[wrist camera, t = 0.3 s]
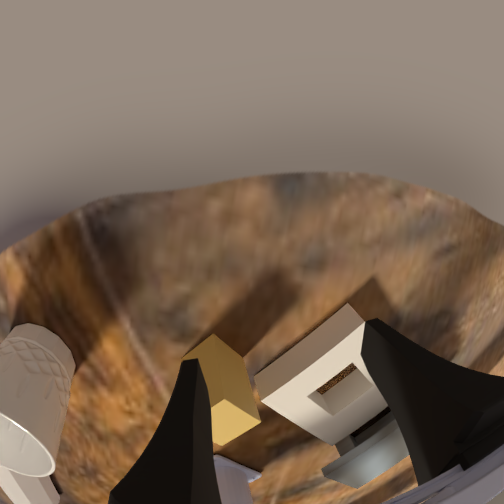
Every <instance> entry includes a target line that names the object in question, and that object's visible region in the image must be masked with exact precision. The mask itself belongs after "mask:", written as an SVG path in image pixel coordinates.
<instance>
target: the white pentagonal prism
mask: <svg viewBox="0 0 504 504" xmlns="http://www.w3.org/2000/svg"><path fill="white" fill-rule="evenodd" d="M0 486H1V488H2V489H3V490H4V492H5V493H6V494H7V496H8V497H9V498H10V499H11V501H12V502H13V503H14V504H59V501H60V496H59V494H58V492H57V491H56V489H55V487H54V485H53V483H52V481H51V479H50V477H49V476H45V477H32V476H27V475H23V474H20V473H17V472H14V471H12V470H9V469H7V468H5V467H3V466H1V465H0Z"/></svg>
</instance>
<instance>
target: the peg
mask: <svg viewBox="0 0 504 504" xmlns="http://www.w3.org/2000/svg"><path fill="white" fill-rule="evenodd" d="M195 358H198V360H199V363H200V366H201V370H202V373H203V376H204V379H205V382H206V385H207V388H208V393H209V399H210V406H211V417H212V439H213V442H215V443H217V444H219V445H221V446H222V445H224V444H226V443H228V442H229V441H231V440H233V439H234V438H236V437H238V436H239V435H241V434H243V433H244V432H246V431H248V430H249V429H251V428H253V427H254V426H256V425H257V424H259V423H261V419H260V416H259V413H258V409H257V406H256V402H255V399H254V395H253V392H252V388H251V385H250V381H249V378H248V374H247V371H246V367H245V363H244V360H243V357H241V356H240V355H239V354H238V353H236V352H235V351H234V350H233V349H232V348H230V347H229V346H228V345H227V344H225V343H224V342H223V341H222V340H221V339H219V338H218V337H217V336H216V335H215V334H214V333H213V334H212V335H210V336H209V337H208V338H207V339H205V340H204V341H203V342H202V343H200V344H199V345H198V346H197V347H195V348H194V349H193V350H191V351H190V352H189V353H188V354H186V355H185V356H184V357H182V358H181V362H182V361H183V360H189V359H195Z"/></svg>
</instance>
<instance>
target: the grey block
mask: <svg viewBox="0 0 504 504" xmlns="http://www.w3.org/2000/svg"><path fill="white" fill-rule="evenodd" d="M335 446H336V448H337V450H338V452H339V454H340V456H341V457H340V458H338V459H337V460H335V461H334V462H332V463H330V464H329V465H327V466H325V467H324V468H322V469H321V470H322V472H323V474H324V477H327V478H329V479H332V480H335V481H337V482H340V483H343V484H345V485H348V486H351V487H354V488H357V489H358V488H359V487H361V486H363V485H364V484H366V483H368V482H369V481H371V480H373V479H374V478H376V477H377V476H379V475H380V474H382V473H383V472H385V471H386V470H388V469H389V468H391V467H392V466H394V465H395V464H397V463H398V462H400V461H401V460H402V459H404V458H405V457H407V456H408V455H409V452H408V449H407V446H406V443H405V441H404V438H403V436H402V433H401V431H400V428H399V426H398V424H397V422H396V419H395V417H394V415H393V413H392V411H390V412H389V413H388V414H386V415H385V416H384V417H382V418H381V419H380V420H378V421H377V422H376V423H374V424H373V425H372V426H370V427H369V428H367V429H366V430H365V431H363V432H362V433H360V434H359V435H358V436H356V437H355V438H354V437H353V436H351V435H350V434H349V435H348V436H346V437H345V438H343V439H342V440H340V441H339V442H337V443H336V444H335Z"/></svg>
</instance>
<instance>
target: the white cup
mask: <svg viewBox="0 0 504 504" xmlns="http://www.w3.org/2000/svg"><path fill="white" fill-rule="evenodd" d="M75 366H76V365H75V362H74V359H73V356H72V353H71V351H70V349H69V348H68V347H67V346H66V344H65V343H64V342H63V341H62V340H61V338H60V337H59V336H57V335H56V334H54V333H53V332H51V331H49V330H48V329H46V328H45V327H43V326H39V325H34V324H30V323H26V324H22V325H18V326H15V327H14V328H13V330H12V331H11V332H10V333H9V335H8V336H7V337H6V339H5V340H4V341H3V342H2V343H1V344H0V465H1V466H3V467H5V468H7V469H9V470H12V471H14V472H17V473H20V474H23V475H27V476H32V477H45V476H49V475H51V474H52V473H53V472H54V470H55V467H56V461H57V455H58V449H59V444H60V439H61V435H62V430H63V425H64V421H65V416H66V412H67V408H68V401H69V398H70V388H71V385H72V381H73V377H74V372H75Z"/></svg>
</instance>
